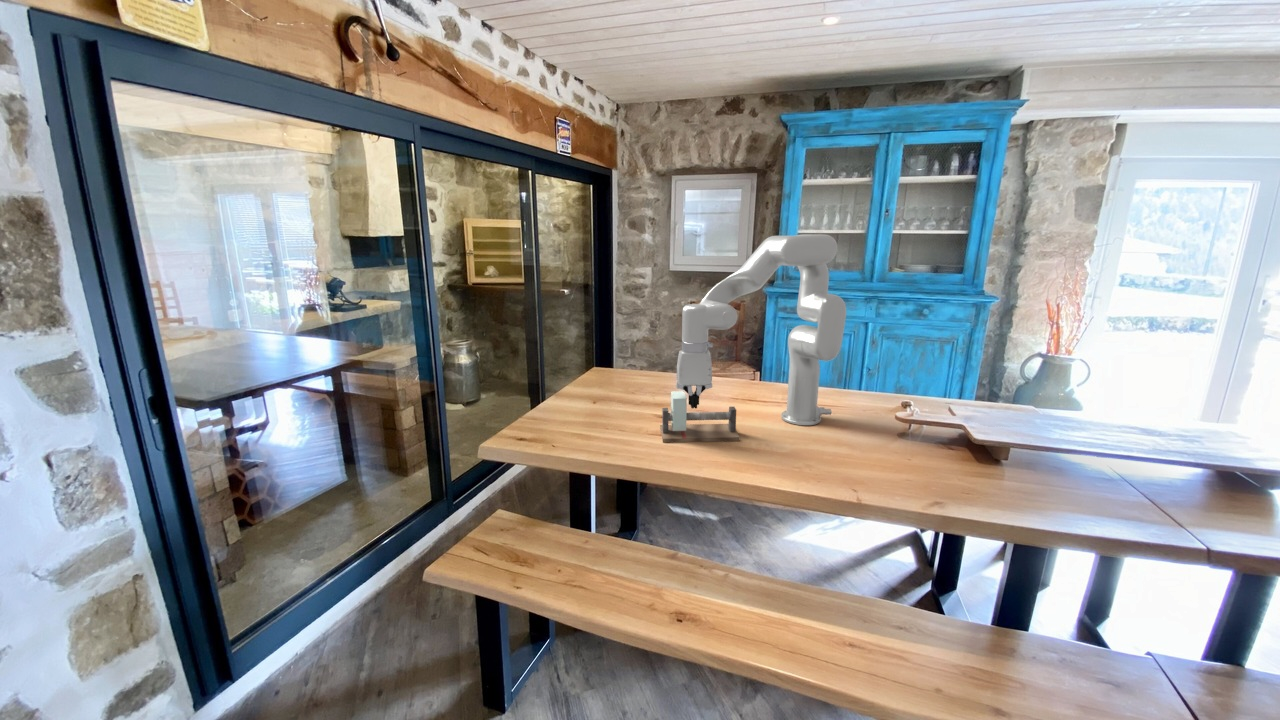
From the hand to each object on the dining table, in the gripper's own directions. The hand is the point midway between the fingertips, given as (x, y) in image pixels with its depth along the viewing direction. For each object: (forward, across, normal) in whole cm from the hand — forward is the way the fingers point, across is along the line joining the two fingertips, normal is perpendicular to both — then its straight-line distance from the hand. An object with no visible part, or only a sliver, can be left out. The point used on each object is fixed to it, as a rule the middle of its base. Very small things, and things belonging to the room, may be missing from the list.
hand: (693, 406), depth 150 cm
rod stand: (+10, -2, -2) cm, 10 cm away
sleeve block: (+7, +4, -2) cm, 9 cm away
